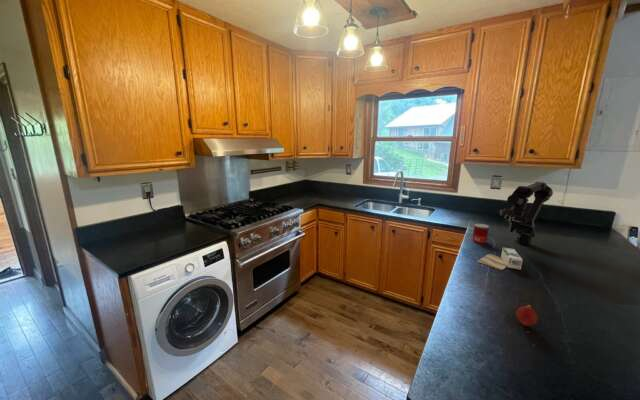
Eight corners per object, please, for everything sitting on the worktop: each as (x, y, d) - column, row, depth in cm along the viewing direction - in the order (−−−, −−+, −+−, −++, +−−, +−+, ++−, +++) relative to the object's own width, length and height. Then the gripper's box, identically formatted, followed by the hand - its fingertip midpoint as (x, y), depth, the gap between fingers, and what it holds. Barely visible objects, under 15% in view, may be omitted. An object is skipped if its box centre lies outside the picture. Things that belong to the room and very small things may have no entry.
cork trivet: (488, 254, 150) (489, 253, 150) (513, 262, 140) (513, 261, 140) (476, 261, 140) (476, 261, 140) (501, 270, 131) (501, 269, 131)
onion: (510, 319, 95) (514, 300, 93) (525, 319, 95) (529, 299, 93) (523, 331, 89) (528, 310, 87) (539, 330, 90) (544, 310, 88)
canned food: (488, 244, 165) (491, 227, 163) (474, 243, 167) (477, 226, 164) (483, 239, 172) (486, 224, 170) (470, 238, 174) (472, 223, 171)
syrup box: (514, 248, 143) (523, 259, 130) (512, 258, 144) (521, 270, 131) (502, 247, 145) (509, 257, 132) (500, 257, 146) (507, 267, 133)
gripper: (499, 203, 166) (491, 226, 167) (508, 203, 148) (499, 229, 149) (519, 208, 162) (511, 232, 163) (531, 208, 144) (522, 235, 146)
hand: (510, 232), depth 155 cm, fingers closed
